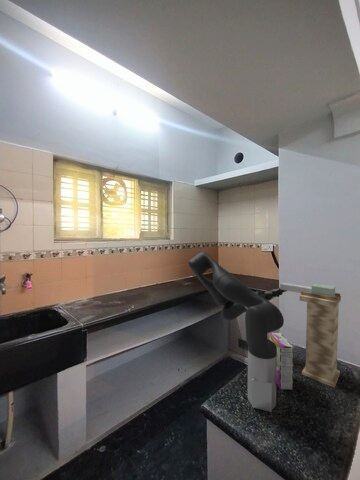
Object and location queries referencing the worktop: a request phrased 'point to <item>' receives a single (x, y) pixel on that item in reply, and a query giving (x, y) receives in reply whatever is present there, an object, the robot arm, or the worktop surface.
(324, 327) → the shelf stand
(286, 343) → the candy bar box
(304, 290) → the handle block
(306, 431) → the worktop surface
